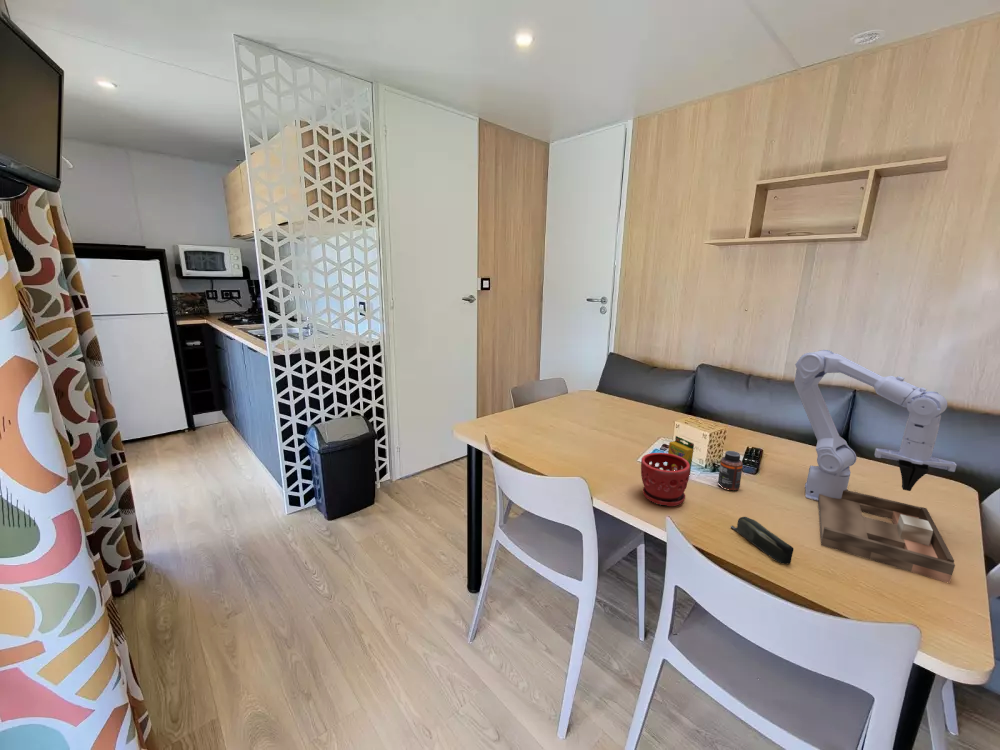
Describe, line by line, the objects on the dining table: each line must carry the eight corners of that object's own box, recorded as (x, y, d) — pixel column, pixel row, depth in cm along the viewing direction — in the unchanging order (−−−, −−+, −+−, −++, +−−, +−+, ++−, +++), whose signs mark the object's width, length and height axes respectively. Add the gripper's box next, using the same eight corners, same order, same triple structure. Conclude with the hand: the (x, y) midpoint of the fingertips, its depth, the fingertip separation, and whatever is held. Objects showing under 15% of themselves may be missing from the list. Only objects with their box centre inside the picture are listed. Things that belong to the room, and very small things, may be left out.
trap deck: (821, 544, 101) (824, 526, 100) (817, 497, 122) (820, 482, 121) (949, 583, 88) (955, 563, 87) (920, 523, 110) (925, 506, 109)
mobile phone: (796, 546, 93) (740, 509, 107) (787, 549, 92) (731, 511, 106) (792, 565, 94) (737, 526, 108) (782, 567, 94) (728, 528, 107)
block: (900, 538, 100) (904, 523, 99) (896, 528, 104) (900, 514, 103) (928, 545, 98) (933, 530, 97) (924, 535, 101) (928, 520, 101)
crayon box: (665, 468, 140) (669, 436, 137) (671, 467, 141) (675, 435, 138) (684, 478, 134) (688, 444, 131) (690, 476, 135) (694, 443, 132)
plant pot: (663, 484, 130) (667, 448, 127) (696, 505, 118) (701, 466, 115) (629, 491, 125) (632, 455, 122) (659, 514, 113) (664, 474, 110)
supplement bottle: (739, 485, 129) (744, 451, 126) (739, 493, 124) (744, 459, 121) (718, 480, 132) (722, 447, 129) (716, 488, 127) (721, 454, 124)
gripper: (882, 438, 104) (871, 487, 108) (965, 452, 96) (950, 504, 99) (878, 430, 110) (867, 476, 113) (956, 442, 102) (942, 492, 105)
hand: (906, 489), depth 107 cm, fingers closed
